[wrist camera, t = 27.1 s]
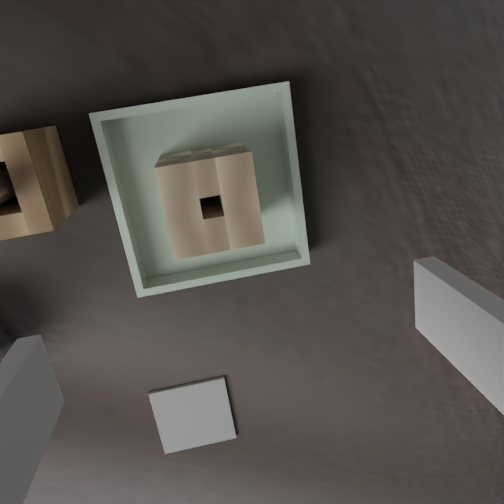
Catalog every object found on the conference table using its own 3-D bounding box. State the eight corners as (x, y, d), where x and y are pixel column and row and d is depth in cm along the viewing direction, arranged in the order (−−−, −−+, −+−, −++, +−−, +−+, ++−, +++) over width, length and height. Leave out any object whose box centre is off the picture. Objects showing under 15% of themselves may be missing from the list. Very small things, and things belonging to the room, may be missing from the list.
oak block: (-2, 220, 39) (-47, 248, 31) (-31, 139, 37) (-87, 149, 29) (79, 206, 40) (53, 230, 32) (55, 125, 37) (22, 131, 30)
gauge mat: (165, 451, 49) (165, 453, 49) (148, 391, 47) (148, 394, 46) (236, 435, 50) (236, 437, 50) (223, 375, 47) (224, 378, 47)
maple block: (176, 231, 41) (174, 260, 33) (160, 155, 39) (153, 168, 31) (251, 217, 42) (265, 243, 34) (239, 141, 39) (251, 151, 32)
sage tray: (140, 284, 43) (137, 297, 40) (96, 112, 37) (88, 113, 34) (302, 253, 44) (310, 264, 41) (281, 82, 39) (289, 81, 36)
